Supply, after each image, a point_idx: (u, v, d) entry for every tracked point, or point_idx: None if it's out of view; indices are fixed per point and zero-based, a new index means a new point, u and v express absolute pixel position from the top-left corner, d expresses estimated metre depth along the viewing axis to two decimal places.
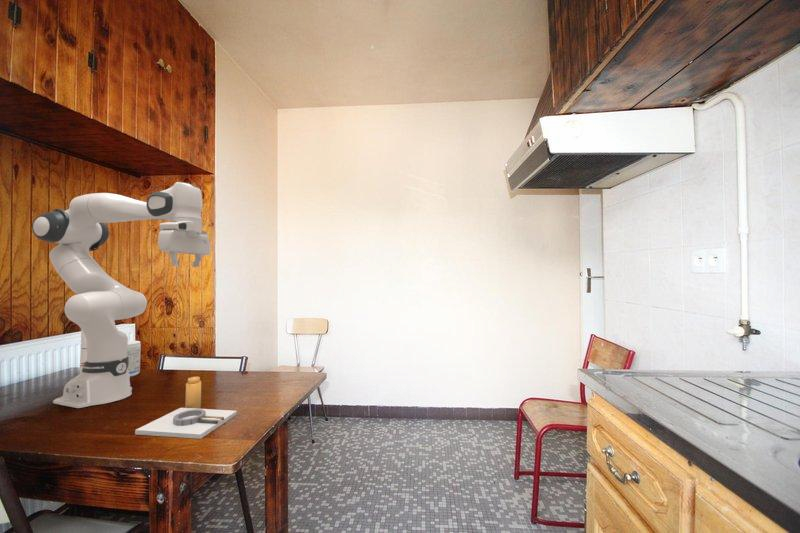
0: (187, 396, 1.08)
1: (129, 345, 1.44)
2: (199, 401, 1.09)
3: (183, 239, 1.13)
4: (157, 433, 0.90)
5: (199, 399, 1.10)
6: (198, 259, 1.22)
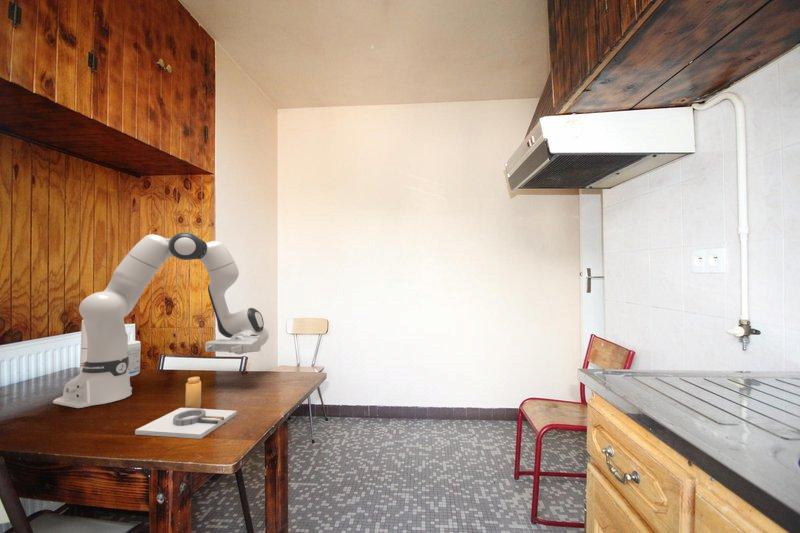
0: (187, 396, 1.08)
1: (129, 345, 1.44)
2: (199, 401, 1.09)
3: None
4: (157, 433, 0.90)
5: (199, 399, 1.10)
6: None
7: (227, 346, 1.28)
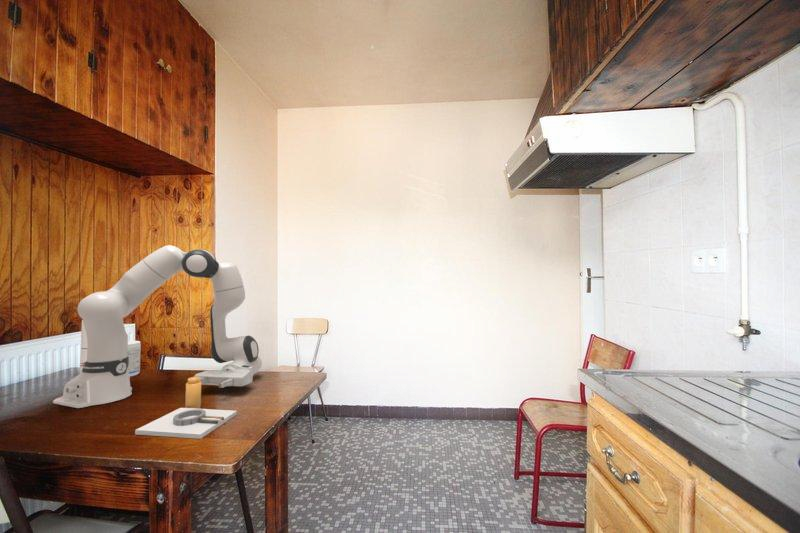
0: (187, 396, 1.08)
1: (129, 345, 1.44)
2: (199, 401, 1.09)
3: None
4: (157, 433, 0.90)
5: (199, 399, 1.10)
6: None
7: (217, 379, 1.22)
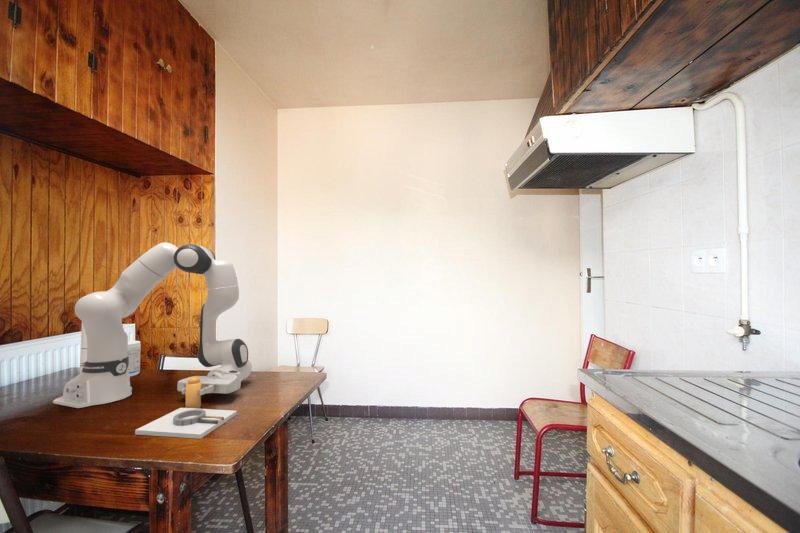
0: (187, 396, 1.08)
1: (129, 345, 1.44)
2: (199, 401, 1.09)
3: None
4: (157, 433, 0.90)
5: (199, 399, 1.10)
6: None
7: (202, 386, 1.14)
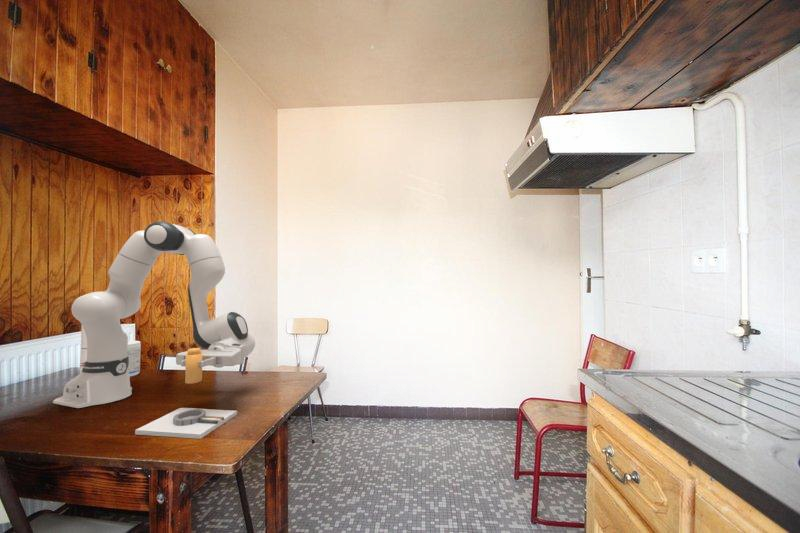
0: (187, 368, 0.99)
1: (129, 345, 1.44)
2: (200, 374, 1.01)
3: None
4: (157, 433, 0.90)
5: (200, 371, 1.01)
6: None
7: (203, 358, 1.06)
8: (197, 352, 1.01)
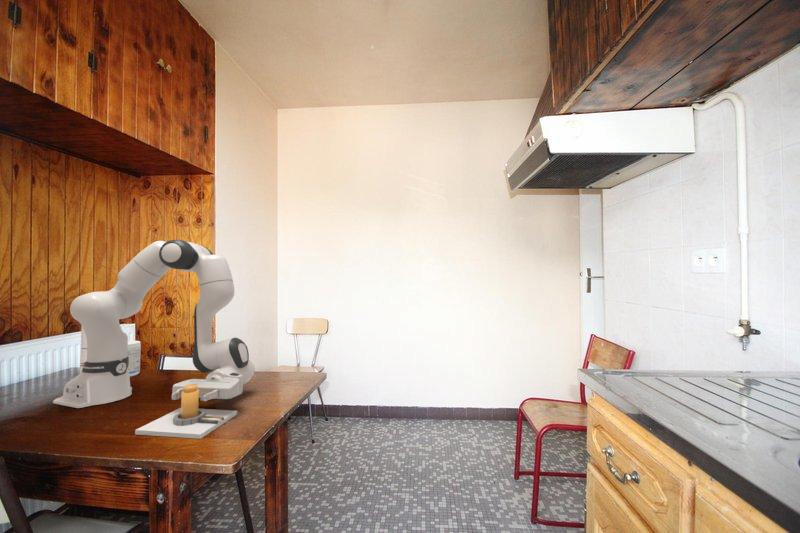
0: (182, 406, 0.96)
1: (129, 345, 1.44)
2: (196, 412, 0.97)
3: None
4: (157, 433, 0.90)
5: (196, 410, 0.98)
6: None
7: (200, 390, 1.02)
8: (193, 390, 0.97)
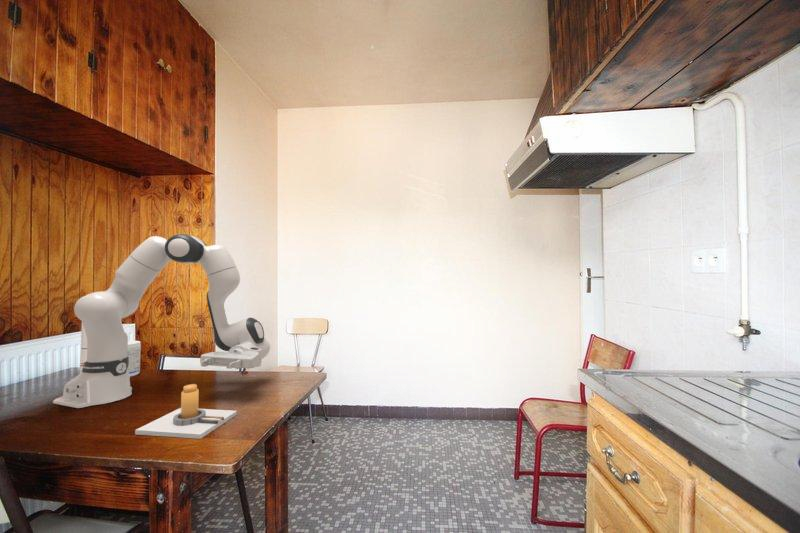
0: (182, 406, 0.96)
1: (129, 345, 1.44)
2: (196, 412, 0.97)
3: None
4: (157, 433, 0.90)
5: (196, 409, 0.98)
6: None
7: (225, 360, 1.16)
8: (193, 390, 0.97)
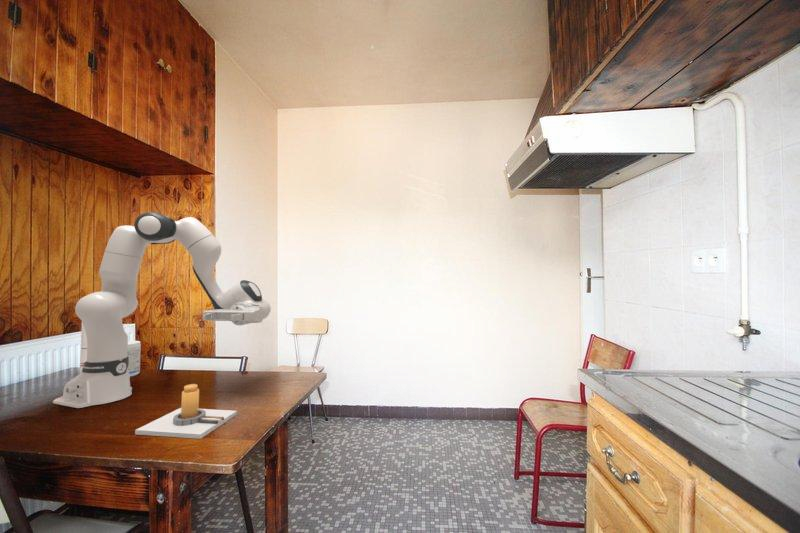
0: (182, 406, 0.96)
1: (129, 345, 1.44)
2: (196, 412, 0.97)
3: None
4: (157, 433, 0.90)
5: (196, 409, 0.98)
6: None
7: (227, 315, 1.18)
8: (194, 389, 0.97)
